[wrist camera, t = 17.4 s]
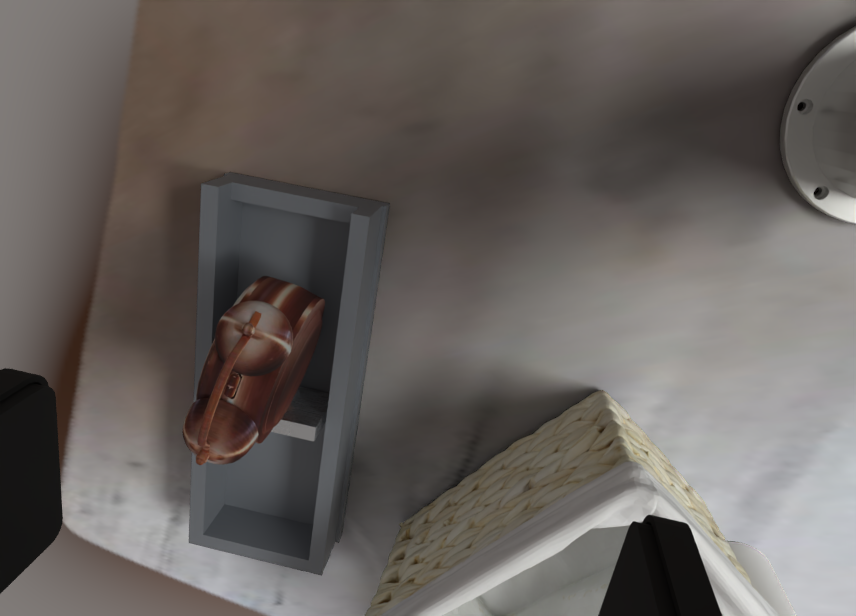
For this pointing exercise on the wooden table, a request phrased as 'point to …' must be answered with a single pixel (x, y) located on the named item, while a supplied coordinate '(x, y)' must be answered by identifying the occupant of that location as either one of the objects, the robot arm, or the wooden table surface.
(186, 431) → the alarm clock
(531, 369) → the wooden table surface
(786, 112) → the robot arm
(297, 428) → the pusher plate
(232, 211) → the tray
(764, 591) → the cylindrical container
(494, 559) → the storage basket
